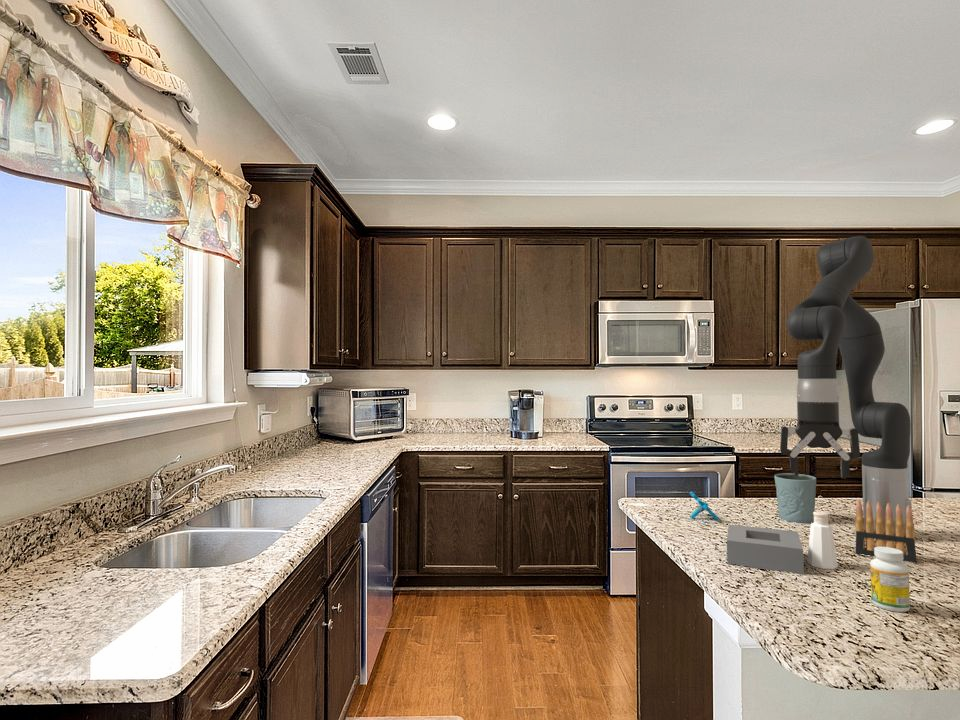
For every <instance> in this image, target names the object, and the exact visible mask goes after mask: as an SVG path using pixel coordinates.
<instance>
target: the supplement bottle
mask: <svg viewBox="0 0 960 720" xmlns="http://www.w3.org/2000/svg"><path fill="white" fill-rule="evenodd" d="M874 555H875V556H876V557H875V558H873V559H871V561H870V562H869V568H870V569H869V571H870V595H871V596H870V597H871V603H872V604H873V605H874V606H876V607H877V608H879V609H883V610H885V611H891V612H896V613H906V612H908V611H909V610H910V609H911V595H910V594H911V593H910V569H909V567H908V565H906V564H905V563H904V561H903V559H904V558H903V552H902V551H901V550H898V549H895V548H890V547H875V548H874Z"/></svg>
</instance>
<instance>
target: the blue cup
mask: <svg viewBox="0 0 960 720" xmlns="http://www.w3.org/2000/svg"><path fill="white" fill-rule="evenodd" d="M773 476H774V484H775V488H776V499H777V508H778V509H777V511H778V518H779V519H780V518H781V519H780V520H782V519H783V520H782V521H784V520H786V521H785V522H788V521H790V522H789V523H793V522H796V523H795V524H811V522H813V523H814V515H813V512H815V507H816V487H817V477H815V476H813V475H808V474H803V473H802V474H801V473H798V476H797V475H794V473H793V472H791V473H788V472H787V473H783V472H782V473H777V474H774V475H773Z"/></svg>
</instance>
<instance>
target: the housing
mask: <svg viewBox="0 0 960 720" xmlns="http://www.w3.org/2000/svg"><path fill="white" fill-rule="evenodd" d="M726 564H727V565H731V564H736V565H735V566H738V565H743V566H742V567H745V566H749V567H748V568H753V567H754V568H755V569H762V570H768V571H775V570H780V571H779V572H783V571H786V572H785V573H790V572H792V574H797V573H799V574H798V575H805V573H804V572H805V571H804V570H805V569H804V565H805V564H804V547H803V545H802V542H801V539H800V536H799V532H798V531H796V530H786V529H776V528H767V527H759V526H758V527H757V526H749V525H748V526H747V525H737V524H731V523H730V524H728V527H727V535H726Z"/></svg>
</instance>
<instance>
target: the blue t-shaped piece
mask: <svg viewBox="0 0 960 720" xmlns="http://www.w3.org/2000/svg"><path fill="white" fill-rule="evenodd" d="M689 495H690V496H691V497H693V499H694V500H695V501H696V502H697V505H696V509H694V511H692V513H691V515H689V517H690V518H691V519H692V520H694V519H695V518H696V517H697V516H698V515H699V514H700V513H703V512H704V511H706V512H708V513H709V515H711V517H713V519H715V521H718V520H720V518H719V517H718V516H717V515H716V514H715V513H714V511H713V510H711V508H709V504H708V503H707V502H706V501H705V502H704V501H703V500H701V498H699V497H698V496H697V495H696V494H695V493H694V492H693V491H692V490H691V491H690V492H689Z"/></svg>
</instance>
